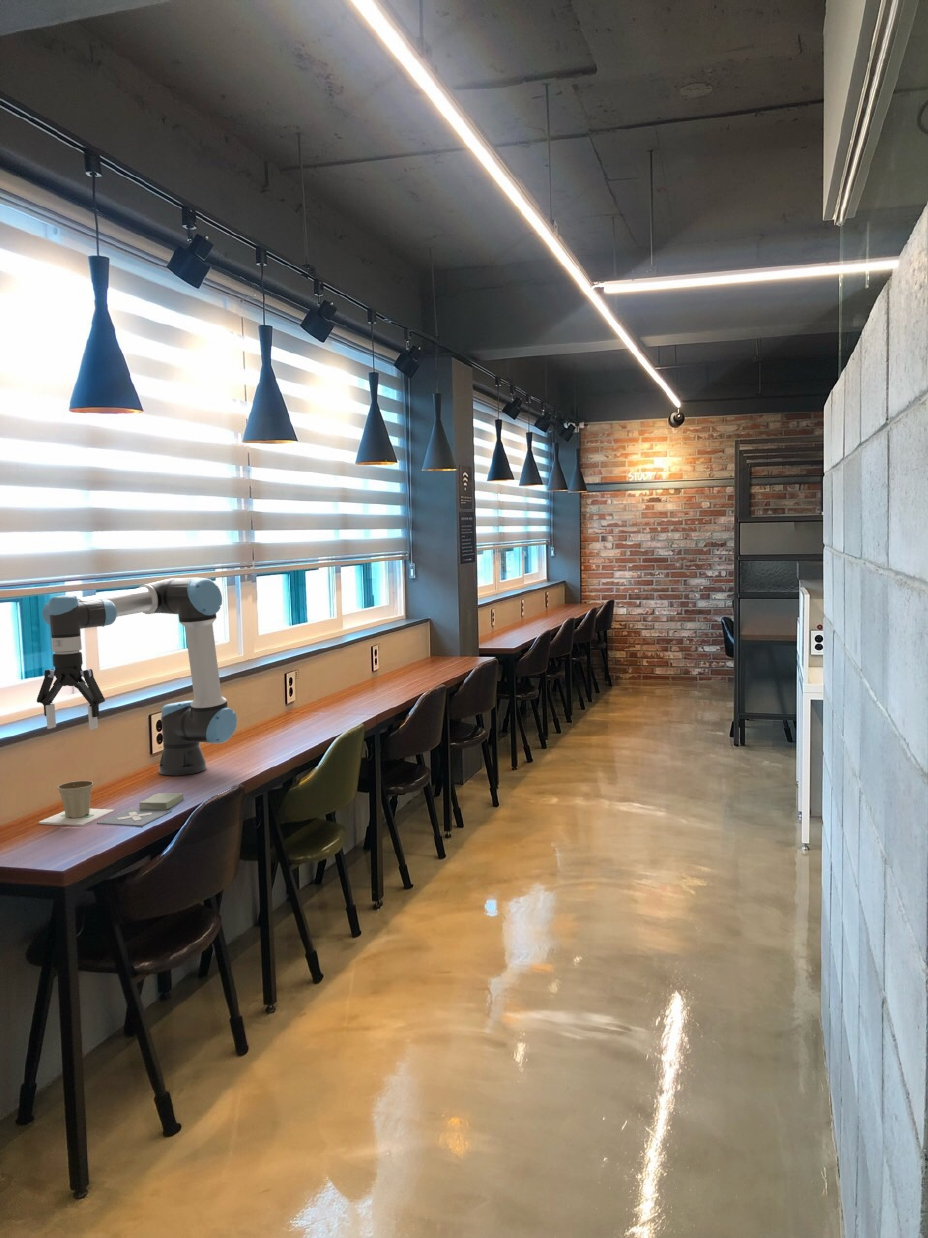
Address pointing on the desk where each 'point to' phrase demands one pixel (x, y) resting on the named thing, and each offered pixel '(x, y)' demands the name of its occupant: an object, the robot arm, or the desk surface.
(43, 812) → the desk surface
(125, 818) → the pad
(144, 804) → the notebook
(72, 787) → the flower pot
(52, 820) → the pad
